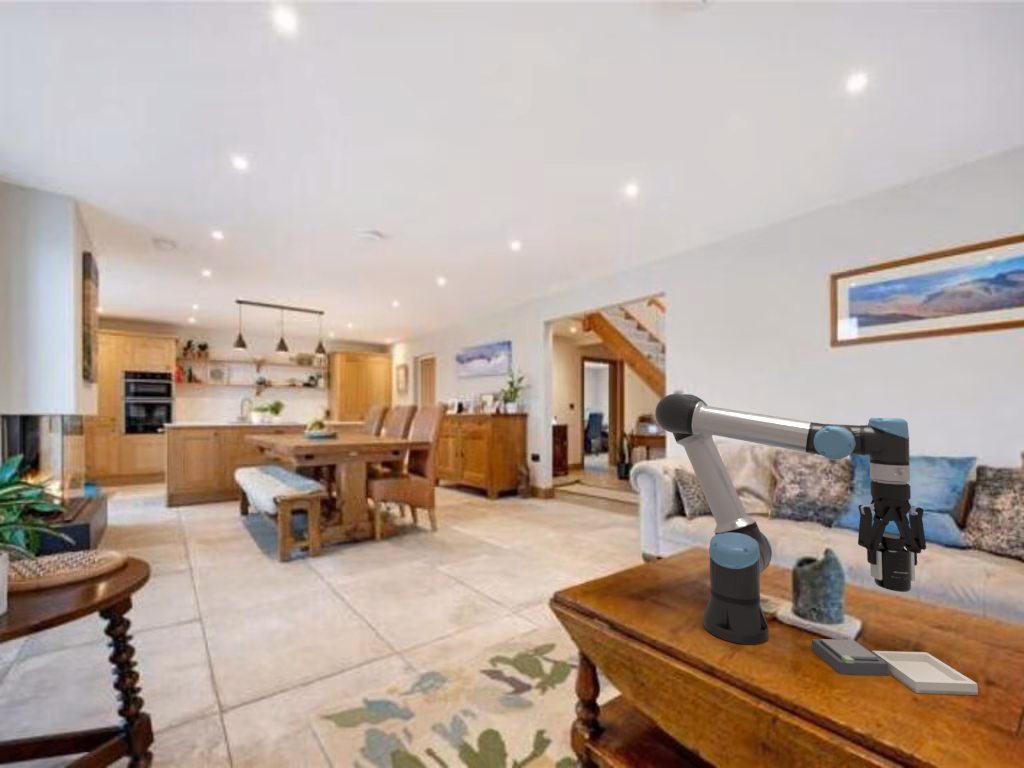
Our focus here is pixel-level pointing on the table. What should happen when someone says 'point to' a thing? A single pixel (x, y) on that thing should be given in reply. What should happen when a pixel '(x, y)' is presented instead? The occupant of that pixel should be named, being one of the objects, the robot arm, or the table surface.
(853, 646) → the grey square tile
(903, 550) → the supplement bottle
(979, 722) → the table surface
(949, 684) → the dish
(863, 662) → the grey square framed panel
